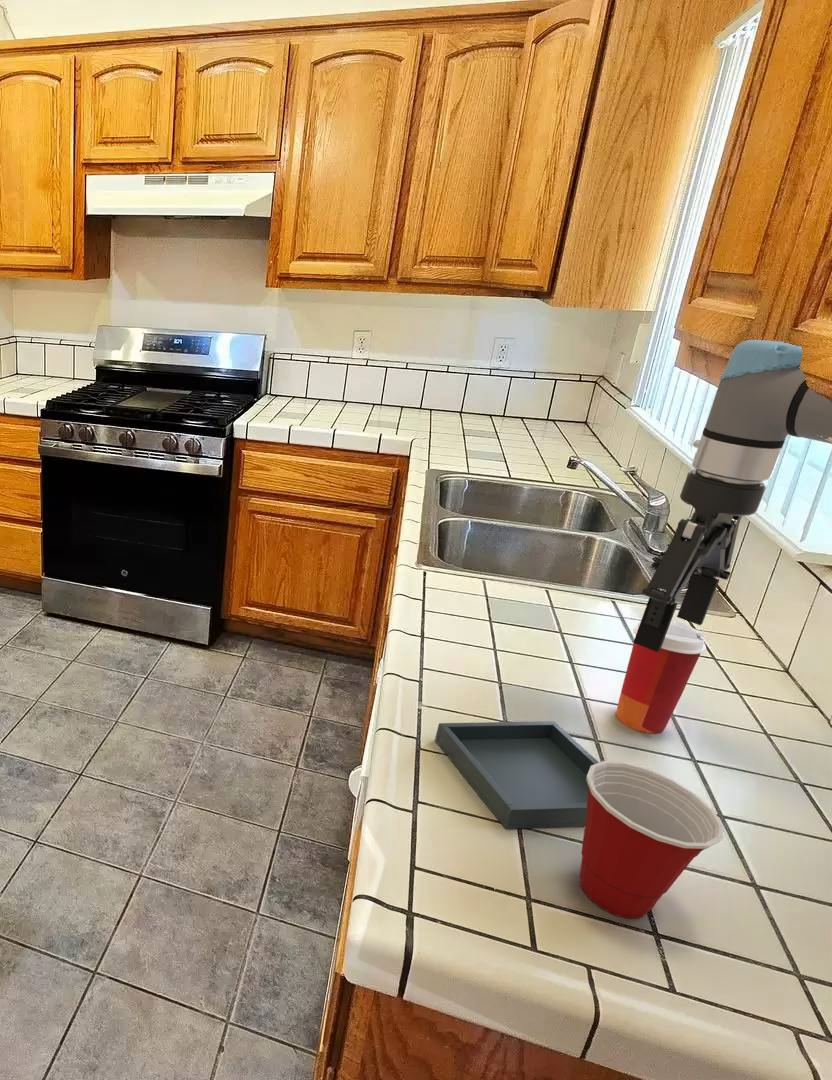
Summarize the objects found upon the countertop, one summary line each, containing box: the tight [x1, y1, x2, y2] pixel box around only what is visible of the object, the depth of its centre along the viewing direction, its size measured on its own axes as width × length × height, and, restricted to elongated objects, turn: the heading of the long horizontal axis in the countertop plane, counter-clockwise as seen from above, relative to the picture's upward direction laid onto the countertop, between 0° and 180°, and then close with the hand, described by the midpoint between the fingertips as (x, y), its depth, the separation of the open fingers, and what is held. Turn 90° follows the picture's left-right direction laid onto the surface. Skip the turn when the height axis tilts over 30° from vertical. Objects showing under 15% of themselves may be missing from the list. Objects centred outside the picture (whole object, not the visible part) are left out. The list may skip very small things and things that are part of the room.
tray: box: [434, 720, 600, 830], centre depth 89 cm, size 16×16×3 cm
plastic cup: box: [579, 760, 725, 919], centre depth 71 cm, size 11×11×12 cm
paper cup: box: [615, 620, 707, 735], centre depth 99 cm, size 8×8×14 cm
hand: (668, 633), depth 97 cm, fingers open, 13 cm apart
